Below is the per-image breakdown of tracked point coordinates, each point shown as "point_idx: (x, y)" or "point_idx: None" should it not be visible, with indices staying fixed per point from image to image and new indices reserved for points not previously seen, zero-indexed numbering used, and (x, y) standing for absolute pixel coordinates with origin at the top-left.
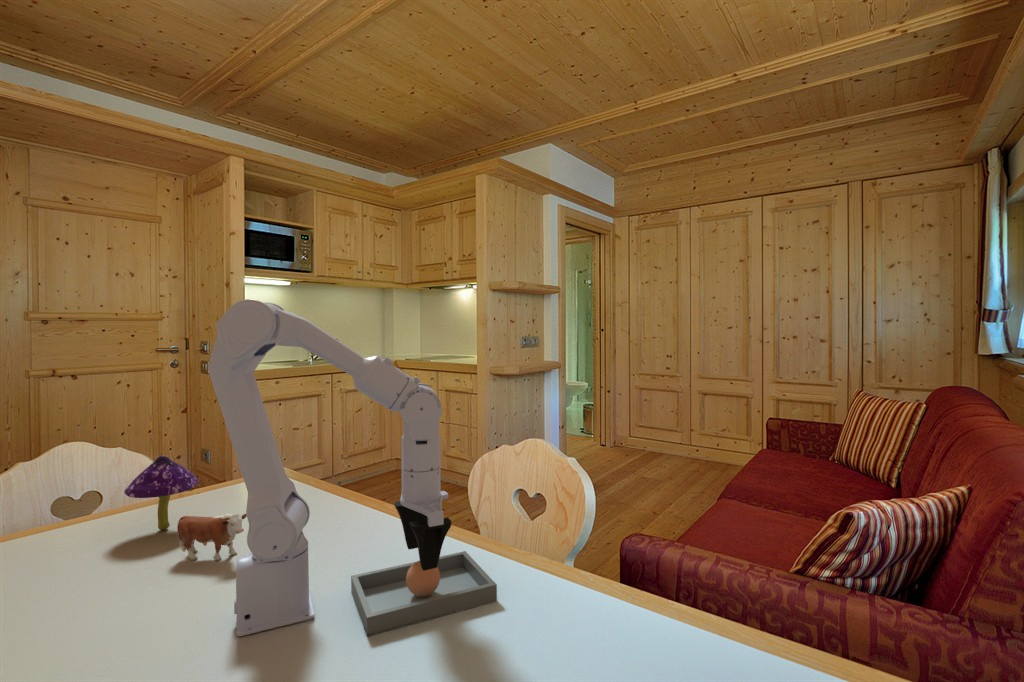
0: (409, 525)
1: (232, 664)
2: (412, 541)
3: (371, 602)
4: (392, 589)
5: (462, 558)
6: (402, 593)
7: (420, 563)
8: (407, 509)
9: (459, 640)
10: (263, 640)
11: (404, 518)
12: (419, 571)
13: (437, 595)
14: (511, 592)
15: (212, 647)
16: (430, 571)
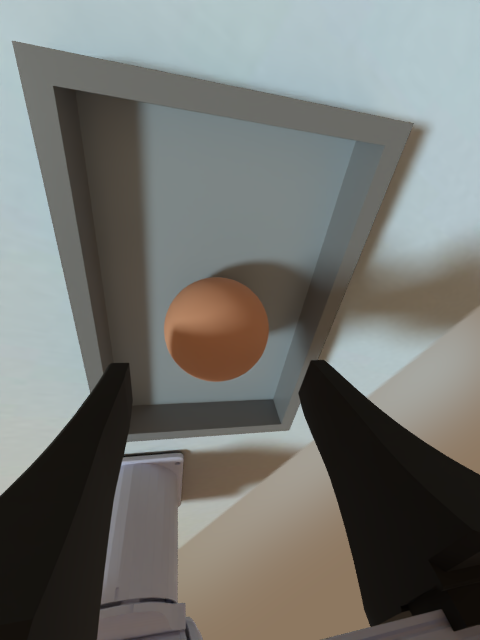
0: (108, 498)
1: (231, 495)
2: (126, 415)
3: (183, 391)
4: (145, 352)
5: (60, 87)
6: None
7: (304, 411)
8: (88, 628)
9: (407, 291)
10: (200, 483)
11: (104, 561)
12: (249, 369)
13: (238, 273)
14: (378, 13)
15: (184, 510)
16: (261, 340)
